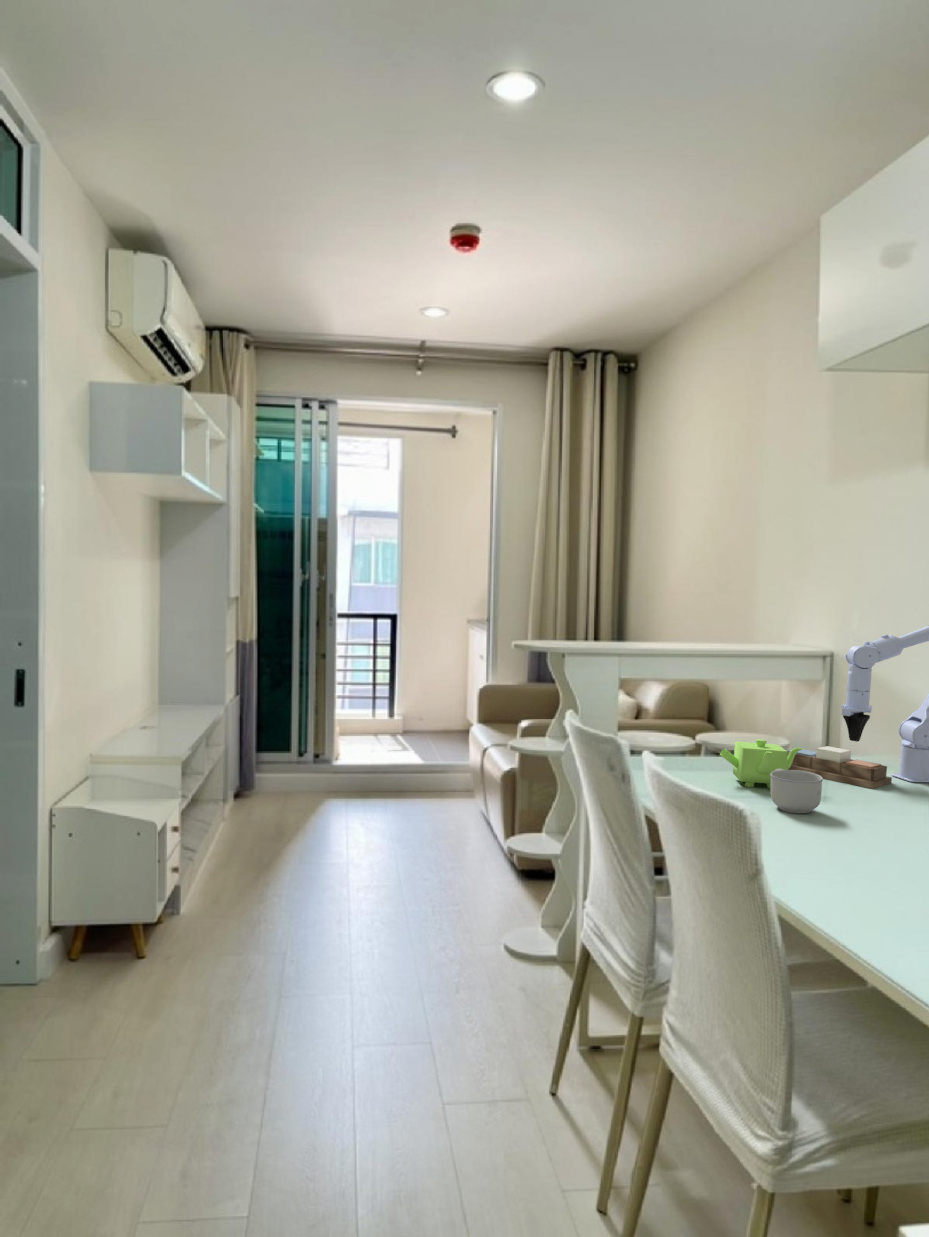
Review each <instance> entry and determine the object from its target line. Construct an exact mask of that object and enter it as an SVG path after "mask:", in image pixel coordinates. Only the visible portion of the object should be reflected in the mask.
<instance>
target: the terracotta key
mask: <svg viewBox="0 0 929 1237" xmlns="http://www.w3.org/2000/svg"><path fill="white" fill-rule="evenodd" d="M846 764H850V765H855V766H860V767H865V768H871V769H874V768H878V767H881V765H882V764H881V763H876V762H872V761H866V760H861V759H852V761H848V762H846Z"/></svg>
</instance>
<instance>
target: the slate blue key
mask: <svg viewBox="0 0 929 1237" xmlns="http://www.w3.org/2000/svg"><path fill="white" fill-rule="evenodd" d="M791 750H792V749H788V750H787V751H788V752H789V753H790V751H791ZM796 754H799V755H804V756H810V757H813V756H816V751H815V750H810V749H809V750H808V749H805V748H804V749H802V750H800V751H798V752H797V753H796Z"/></svg>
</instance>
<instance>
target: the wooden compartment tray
mask: <svg viewBox="0 0 929 1237" xmlns="http://www.w3.org/2000/svg"><path fill="white" fill-rule="evenodd" d="M786 751H787V752H788V750H786ZM788 755H789V752H788ZM788 755H787V757H788ZM852 760H853V759H850V761H852ZM846 762H848V761H846ZM846 762H842V763H840V762H835V761H830V760H825V759H820V758H816V756H813V757H810V756H804V755H799V754H796V755H795V756H794V759H793V762H792V764H791V766H790V768H789V769H788V770H799V771H806V772H811V773H815V774H818V775H820V776H821V777H822V778H823V779H825V780H830V781H833V782H839V783H844V784H848V785H849V784H850V785H853V786H857V787H863V788H867V789H875V788H880V787H883V786H887V785H890V784H892V781H893V780H892V779H893V777H890V776H887V774H888V772H887V769H888V766H887V765H882V764H881V767H878V768H874V769H871V768H865V767H860V766H855V765H850V764H846Z"/></svg>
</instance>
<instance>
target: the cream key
mask: <svg viewBox="0 0 929 1237" xmlns="http://www.w3.org/2000/svg"><path fill="white" fill-rule="evenodd" d="M815 752H816V758H820V759H825V760H830V761H835V762H840V763H842V762H846V761H850V759H851V757H852V750H850V749H846V748H840V747H839V748H838V747H834V746H828V745H826V746H821V747H816V751H815Z"/></svg>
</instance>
